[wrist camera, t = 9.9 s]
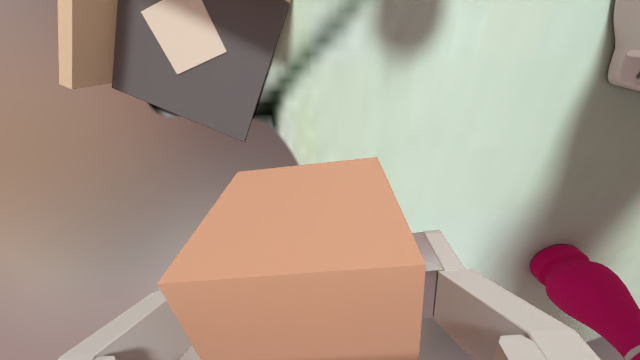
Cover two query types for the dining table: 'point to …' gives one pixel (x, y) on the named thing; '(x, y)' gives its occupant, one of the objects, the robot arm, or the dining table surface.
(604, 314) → the pepper mill
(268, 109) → the dining table surface
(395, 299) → the cube
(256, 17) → the arena
